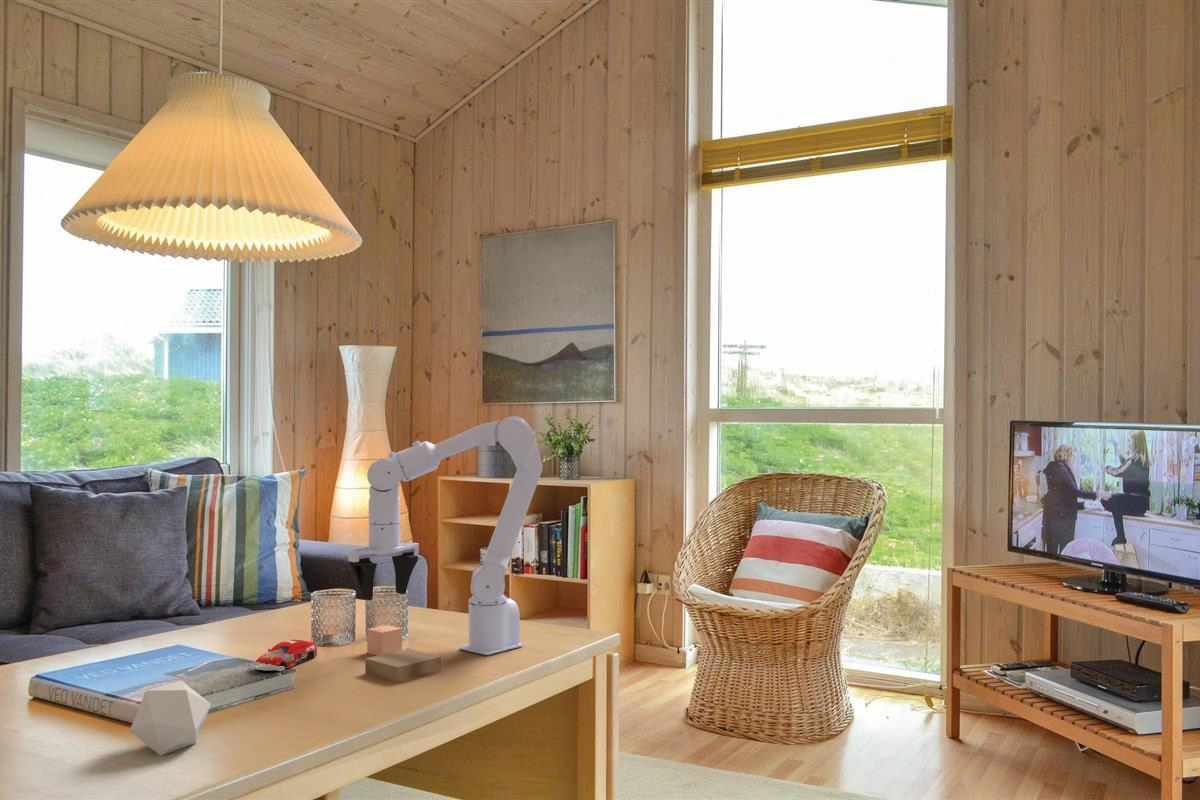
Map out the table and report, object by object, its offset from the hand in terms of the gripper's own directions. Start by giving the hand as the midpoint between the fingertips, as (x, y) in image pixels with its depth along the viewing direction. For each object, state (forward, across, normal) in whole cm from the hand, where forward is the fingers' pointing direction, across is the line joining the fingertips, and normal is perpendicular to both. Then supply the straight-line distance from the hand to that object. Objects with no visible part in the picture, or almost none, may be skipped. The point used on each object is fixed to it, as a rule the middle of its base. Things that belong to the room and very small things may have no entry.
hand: (384, 596), depth 174 cm
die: (+11, +49, +20) cm, 54 cm away
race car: (+11, +16, -7) cm, 21 cm away
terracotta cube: (+10, 0, 0) cm, 10 cm away
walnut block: (+11, +6, +14) cm, 19 cm away
